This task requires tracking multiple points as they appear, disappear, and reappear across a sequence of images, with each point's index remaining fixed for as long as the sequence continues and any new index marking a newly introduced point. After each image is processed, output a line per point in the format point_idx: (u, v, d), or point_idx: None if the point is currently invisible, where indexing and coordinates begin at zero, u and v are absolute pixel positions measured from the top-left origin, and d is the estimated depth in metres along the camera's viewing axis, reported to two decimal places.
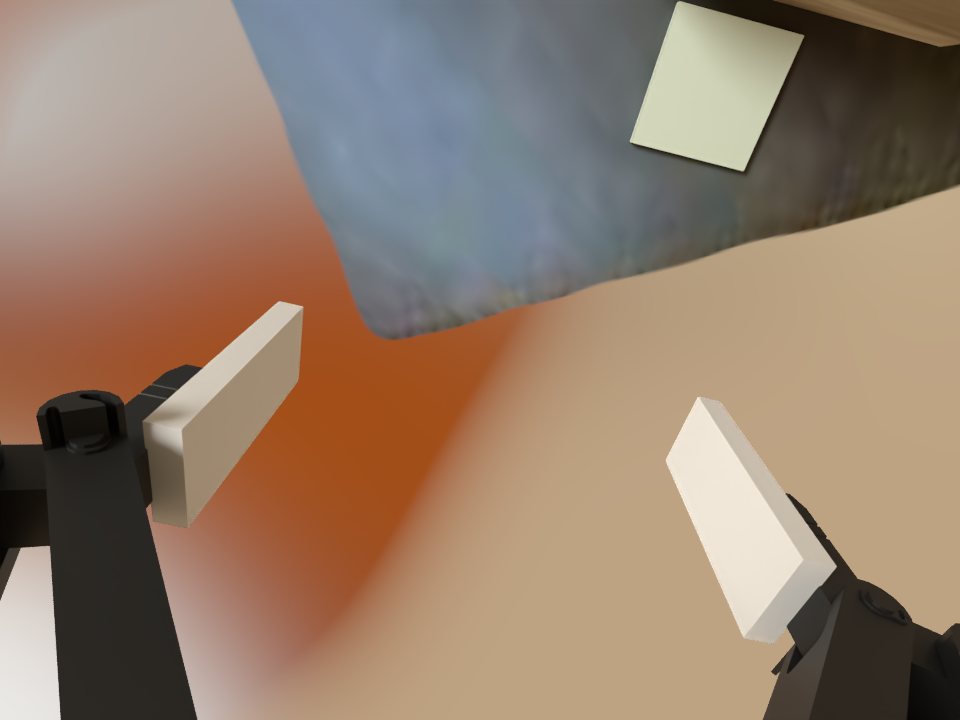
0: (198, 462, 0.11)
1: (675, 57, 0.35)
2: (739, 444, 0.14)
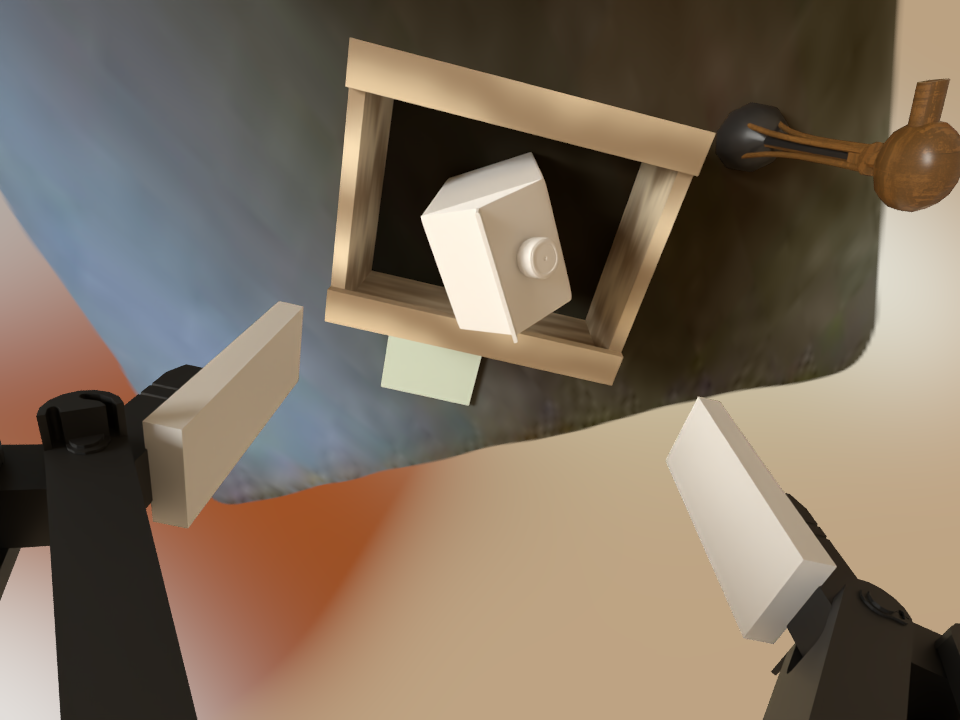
0: (198, 462, 0.11)
1: None
2: (739, 444, 0.14)
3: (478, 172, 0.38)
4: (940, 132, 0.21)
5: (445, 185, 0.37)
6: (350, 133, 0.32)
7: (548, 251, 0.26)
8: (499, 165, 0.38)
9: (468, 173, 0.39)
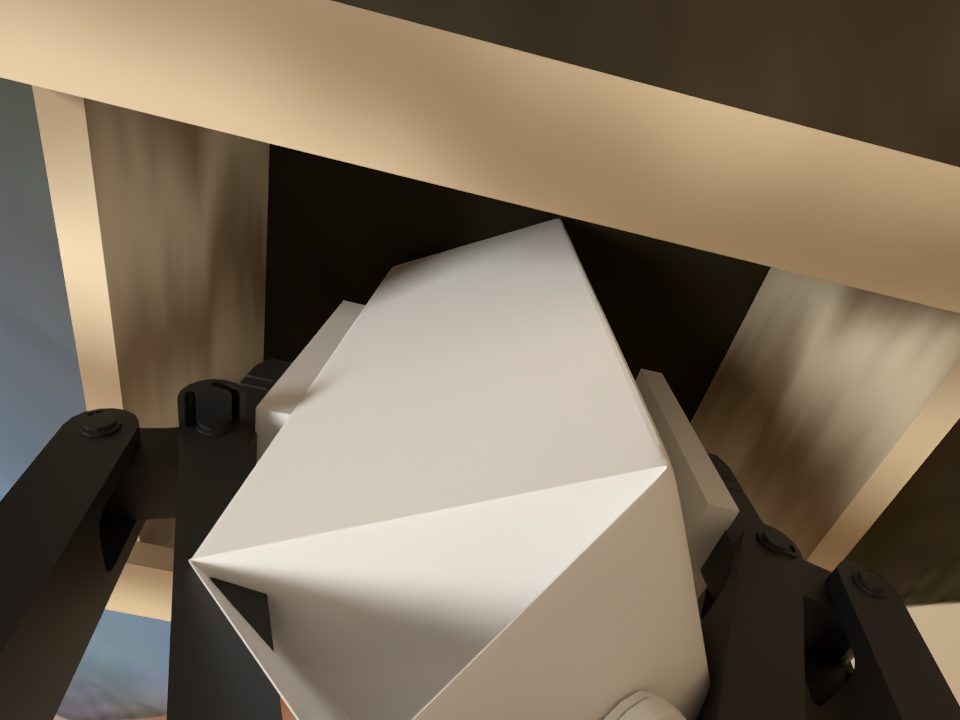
0: None
1: None
2: (671, 409, 0.15)
3: (447, 268, 0.17)
4: None
5: (372, 302, 0.17)
6: (69, 210, 0.11)
7: None
8: (493, 254, 0.17)
9: (429, 263, 0.19)
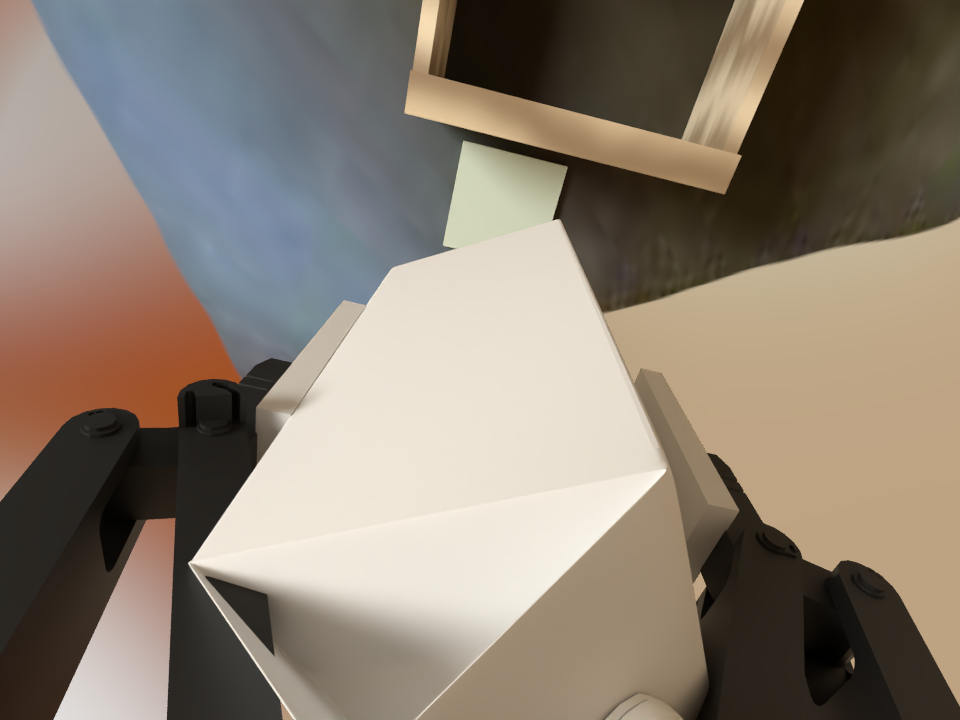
0: None
1: (467, 182, 0.43)
2: (671, 409, 0.15)
3: (447, 270, 0.17)
4: None
5: (372, 304, 0.17)
6: None
7: None
8: (493, 255, 0.17)
9: (429, 264, 0.19)
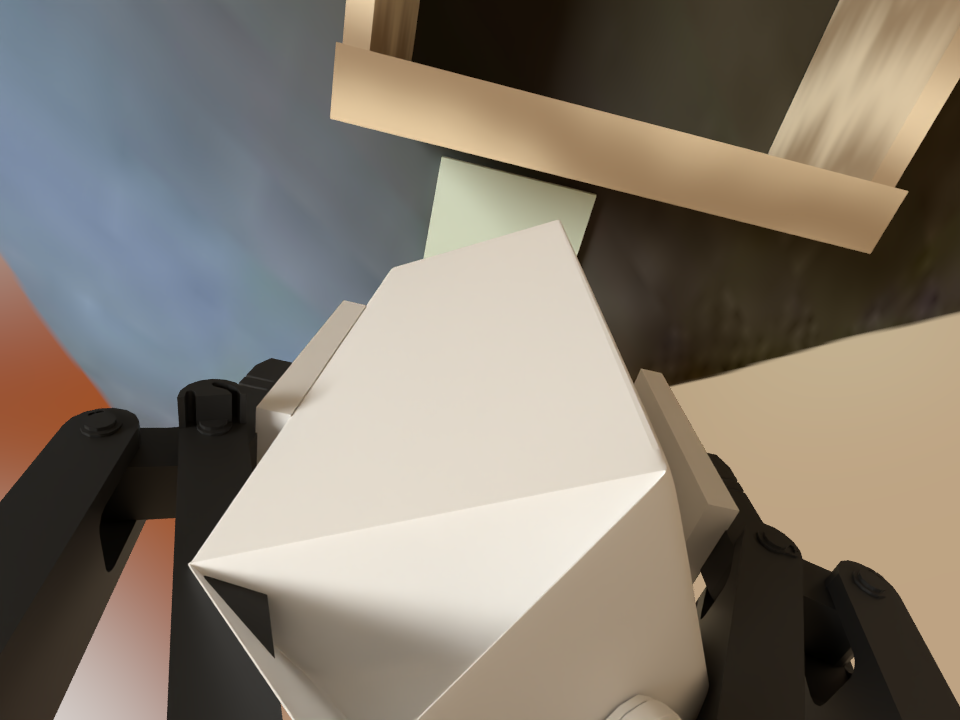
0: None
1: (449, 216, 0.29)
2: (671, 409, 0.15)
3: (447, 270, 0.17)
4: None
5: (372, 304, 0.17)
6: None
7: None
8: (493, 255, 0.17)
9: (429, 265, 0.19)
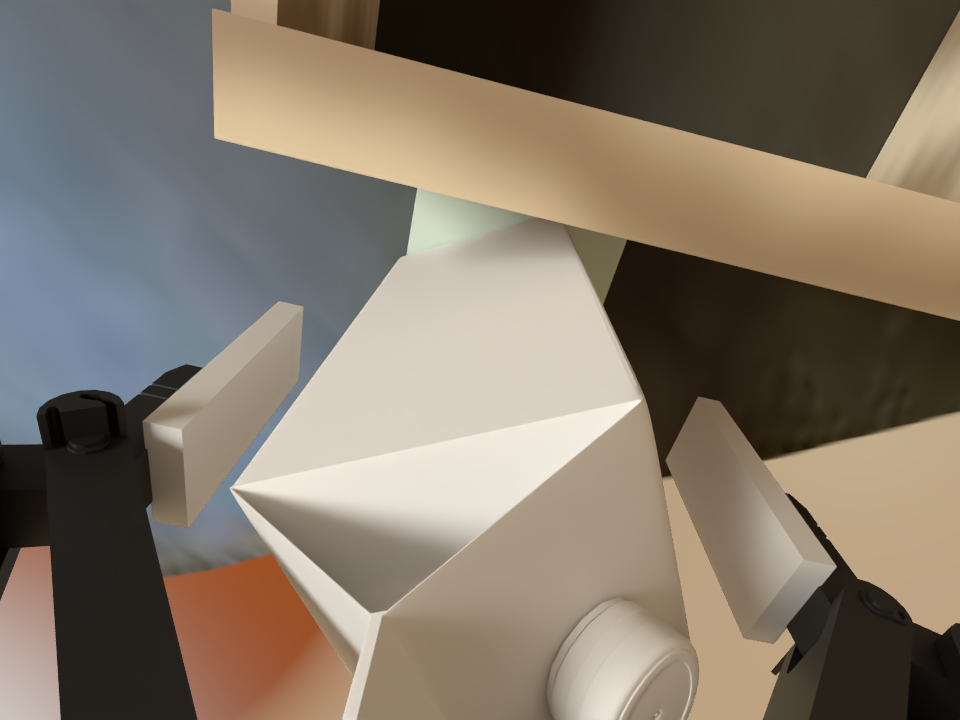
0: (198, 462, 0.11)
1: None
2: (739, 444, 0.14)
3: (453, 257, 0.19)
4: None
5: (382, 287, 0.18)
6: None
7: (668, 688, 0.07)
8: (495, 244, 0.19)
9: (435, 253, 0.20)
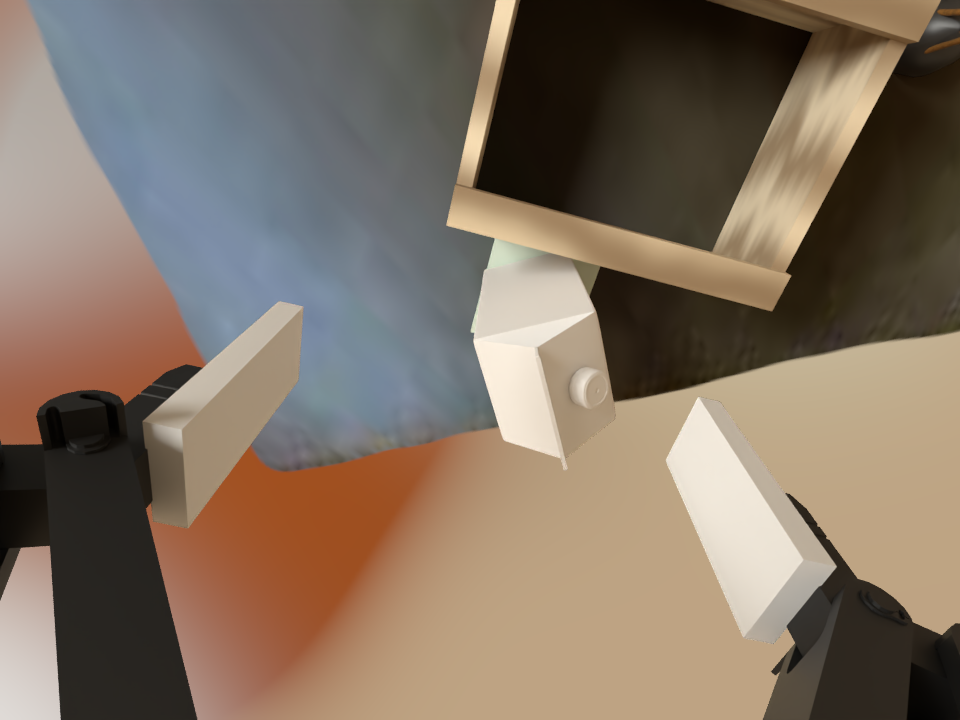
0: (198, 462, 0.11)
1: None
2: (739, 444, 0.14)
3: (516, 270, 0.39)
4: None
5: (485, 284, 0.38)
6: None
7: (600, 383, 0.27)
8: (537, 264, 0.39)
9: (505, 268, 0.40)
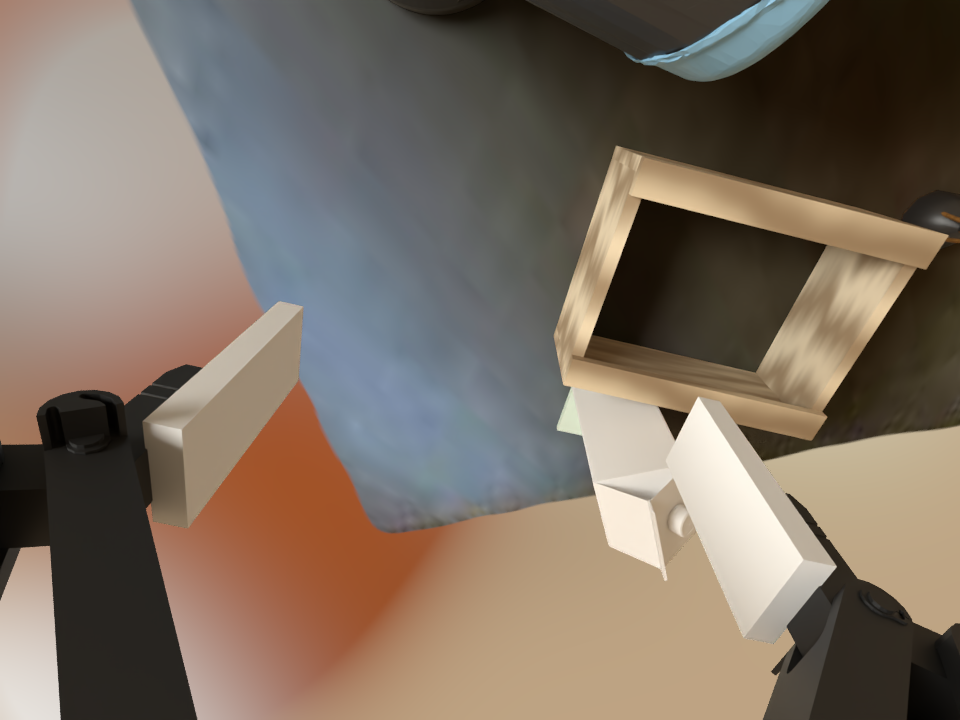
0: (198, 462, 0.11)
1: None
2: (739, 444, 0.14)
3: (603, 394, 0.49)
4: None
5: (579, 408, 0.48)
6: (620, 230, 0.36)
7: None
8: None
9: None
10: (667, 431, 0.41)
